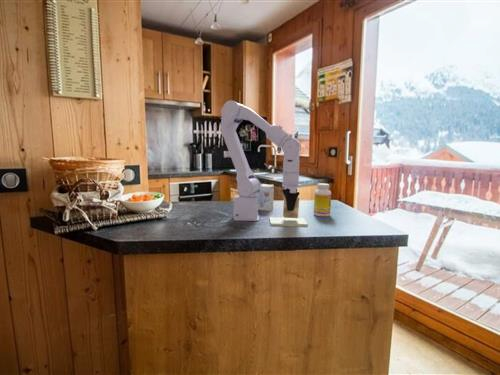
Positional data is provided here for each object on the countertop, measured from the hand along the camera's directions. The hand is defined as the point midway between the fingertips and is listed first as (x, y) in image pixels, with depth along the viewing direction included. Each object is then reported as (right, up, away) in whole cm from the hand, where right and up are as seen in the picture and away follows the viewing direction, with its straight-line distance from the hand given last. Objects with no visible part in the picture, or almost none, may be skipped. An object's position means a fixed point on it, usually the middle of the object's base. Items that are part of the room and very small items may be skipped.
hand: (289, 209), depth 107 cm
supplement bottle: (+15, -4, +14) cm, 20 cm away
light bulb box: (-10, -2, +24) cm, 26 cm away
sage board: (-1, -5, +1) cm, 5 cm away
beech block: (0, -3, 0) cm, 3 cm away
